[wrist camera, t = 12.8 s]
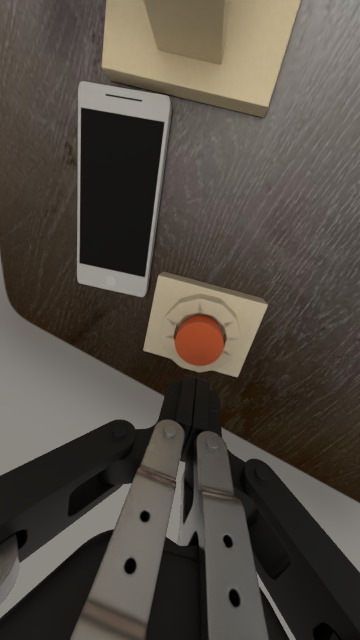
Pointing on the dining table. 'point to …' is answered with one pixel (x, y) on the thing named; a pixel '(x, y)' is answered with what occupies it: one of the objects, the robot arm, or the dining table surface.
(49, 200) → the dining table surface
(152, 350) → the block
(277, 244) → the dining table surface
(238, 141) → the dining table surface
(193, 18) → the beige lever base
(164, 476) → the robot arm
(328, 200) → the dining table surface
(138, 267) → the smartphone
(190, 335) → the button
